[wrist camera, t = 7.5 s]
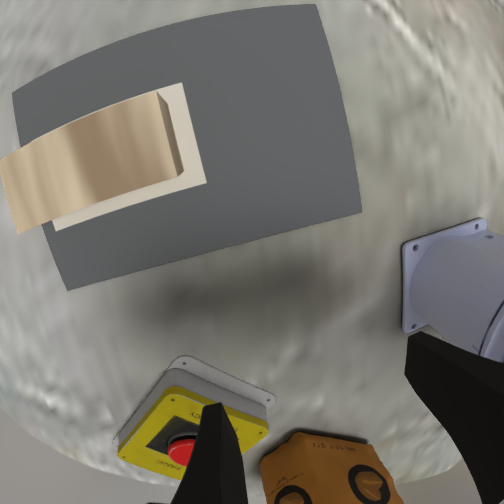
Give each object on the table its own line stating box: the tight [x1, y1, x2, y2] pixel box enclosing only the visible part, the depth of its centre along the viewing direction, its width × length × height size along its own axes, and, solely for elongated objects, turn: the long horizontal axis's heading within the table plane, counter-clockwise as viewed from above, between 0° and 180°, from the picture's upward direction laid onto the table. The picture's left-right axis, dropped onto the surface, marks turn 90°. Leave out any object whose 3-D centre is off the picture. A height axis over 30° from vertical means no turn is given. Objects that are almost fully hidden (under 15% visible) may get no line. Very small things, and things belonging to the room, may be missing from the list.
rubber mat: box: [12, 4, 362, 291], centre depth 16 cm, size 20×14×1 cm
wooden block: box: [0, 91, 184, 234], centre depth 14 cm, size 4×4×9 cm
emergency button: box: [112, 355, 276, 480], centre depth 22 cm, size 9×4×15 cm
